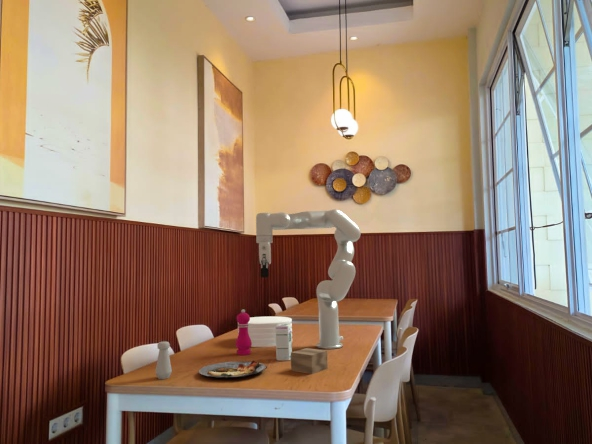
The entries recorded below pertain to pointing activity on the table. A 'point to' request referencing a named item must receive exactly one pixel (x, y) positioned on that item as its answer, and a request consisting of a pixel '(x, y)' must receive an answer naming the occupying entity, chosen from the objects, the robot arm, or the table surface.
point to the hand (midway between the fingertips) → (264, 277)
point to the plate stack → (265, 330)
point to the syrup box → (283, 342)
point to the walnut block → (309, 360)
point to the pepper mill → (243, 334)
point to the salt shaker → (163, 361)
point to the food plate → (233, 369)
